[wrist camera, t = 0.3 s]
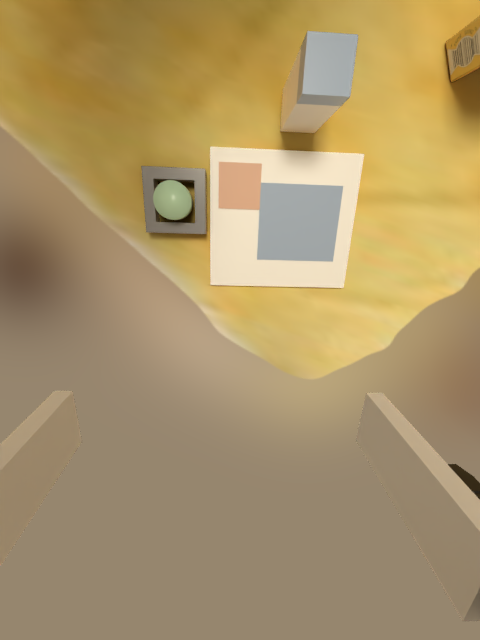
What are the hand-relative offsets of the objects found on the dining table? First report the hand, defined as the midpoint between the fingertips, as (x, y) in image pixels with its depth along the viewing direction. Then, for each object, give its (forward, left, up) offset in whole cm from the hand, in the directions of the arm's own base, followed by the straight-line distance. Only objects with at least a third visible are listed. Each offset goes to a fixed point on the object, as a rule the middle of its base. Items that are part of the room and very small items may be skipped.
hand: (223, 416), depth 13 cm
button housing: (-10, -6, -27) cm, 29 cm away
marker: (-20, +8, -27) cm, 35 cm away
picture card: (-8, +7, -27) cm, 29 cm away
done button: (-10, -6, -25) cm, 28 cm away
